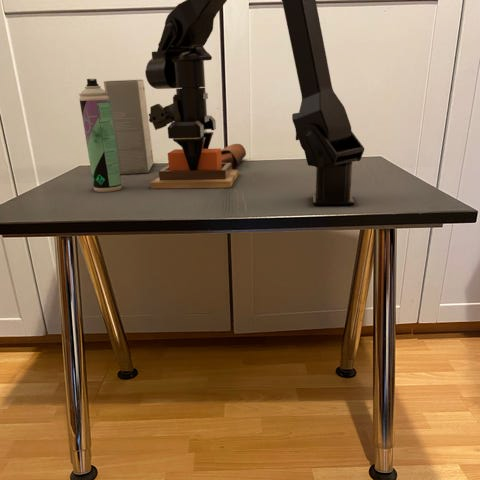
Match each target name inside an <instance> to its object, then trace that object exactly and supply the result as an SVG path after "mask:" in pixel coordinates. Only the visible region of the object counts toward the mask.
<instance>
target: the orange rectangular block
mask: <svg viewBox="0 0 480 480" xmlns="http://www.w3.org/2000/svg"><path fill="white" fill-rule="evenodd" d="M221 150H222V148H208V149H202V153H201V157H200V161H199V165H198V169H197V170H218V169H222V159H221ZM167 160H168V165H169V170H190V169H189V166H188V163H187V160H186V157H185V154H184V151H183V149H182V148H181V149H180V148H179V149H178V148H176V149H173V150H171V151H169V152H168V153H167Z"/></svg>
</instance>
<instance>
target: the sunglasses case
mask: <svg viewBox="0 0 480 480" xmlns="http://www.w3.org/2000/svg"><path fill="white" fill-rule="evenodd" d="M246 156H247V151H246V148H245V147H244V146H243V145H242V144H241V143H233V144H230V145H227V146H225V147H224V148H221V159H222V163H232V170H237V168H238V167H239V166H240V163H241V162H242V161H243V159H244V158H245V157H246Z"/></svg>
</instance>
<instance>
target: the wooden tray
mask: <svg viewBox="0 0 480 480" xmlns="http://www.w3.org/2000/svg"><path fill="white" fill-rule="evenodd" d="M239 173H240V171H239V169H235V170H232V163H222V169H218V170H169V164H167V165H166V166H164V167H163V168H161V169H159V171H158V177H157V178H155V179H153V180H152V181H151V182H150V188H151V189H152V190H153V189H155V190H157V189H225V188H226V189H227V188H228V189H229V188H232V186H233V185H234V183H235V181H236V180H237V179H238V177H239Z"/></svg>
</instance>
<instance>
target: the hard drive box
mask: <svg viewBox="0 0 480 480" xmlns="http://www.w3.org/2000/svg"><path fill="white" fill-rule="evenodd" d="M103 87H104V91H106V92H107V93H108V96H109V98H110V105H111V112H112V120H113V127H114V134H115V141H116V148H117V156H118V163H119V170H120V175H132V174H134V175H135V174H148V173H150V170H151V168H152V166H153V165H154V153H153V146H152V145H153V144H152V139H151V137H152V136H151V129H150V121H149V115H148V114H149V112H148V105H147V98H146V97H147V96H146V87H145V81H144V79H142V78H141V79H118V80H117V79H116V80H115V79H114V80H106V81H105V80H104V81H103Z"/></svg>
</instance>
